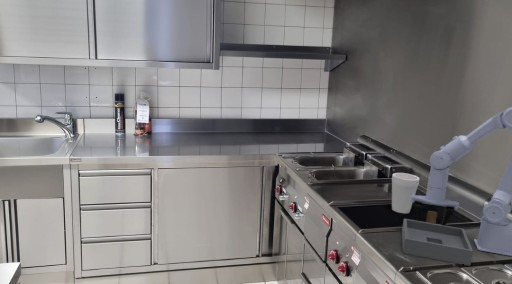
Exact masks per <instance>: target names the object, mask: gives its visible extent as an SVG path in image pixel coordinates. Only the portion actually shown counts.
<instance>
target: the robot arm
mask: <svg viewBox="0 0 512 284" xmlns="http://www.w3.org/2000/svg"><path fill="white" fill-rule="evenodd" d="M506 128H507V129H508V130H510V131H511V132H512V106H511V107H508V108H506V110H504V111H501V112H499V113H498V114H495V115H493V116H491V117H490V118H488V119H487V120H486V121H485V122H484V123H482V124H481V125H479V126H478V127H477V128H475V129H474V130H473V131H471V132H470V133H468V134H467V135H462V134H461V135H458V136H457V135H455V136H454V137H452V138H451V139H452V140H451V141H450V142H448V143H447V144H446V145H442V146H440V147H439V149H440V150H438V151H434V152H433V153H432V154H431V155H430V157H429V163H430V171H429V175H428V181H427V188H426V193H425V195H419V194H418V195H416V194H415V195H411V202H413V205H414V208H415V212H416V221H421V215H422V209H423V204H427V205H432V206H439V207H443V208H444V209H443V216H442V220H441V224H440V225H444V226H447V223H448V221H449V219H450V218H451V217H452V215H453V214H455V210H459V205H460V203H459V202H458V201H453V200H451V199H445V197H446V191H447V187H448V180H449V173H450V166H452V165H453V163H454V162H457V161H458V160H459V159H461V158H463V157H464V156H465V155H467V154H469V153H470V152H472V151H473V148H474V144H475V143H477V142H478V141H480V140H482V139H483V138H485V137H486V136H488V135H489V134H491V133H492V132H494V131H495V130H503V129H506ZM511 212H512V156H511V158H510V160H509V162H508V164H507V166H506V168H505V170H504V173H503V175H502V177H501V179H500V181H499V184H498V186H497V188H496V190H495V191H494V194H493V195H492V197H491V199H490V200H489V202H488V203H486V204H485V205H484V206H483V208H482V216H481V221H480V226H479V231H478V237H477V239H476V238H473V242H474V244H475V247H476V248H477V250H478V251H482V252H486V253H487V252H488V253H494V254H499V255H505V256H510V257H512V222H510V221H509V219H508V217H507V216H509V214H510V213H511Z"/></svg>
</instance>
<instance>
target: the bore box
mask: <svg viewBox="0 0 512 284" xmlns="http://www.w3.org/2000/svg"><path fill="white" fill-rule="evenodd" d="M401 239H402V240H401V241H402V242H401V243H402V254H407V255H411V256H416V257H421V258H427V259H432V260H437V261H442V262H448V263H452V264H457V263H458V265H462V264H464V266H469V267H470V266H471V263H472V259H473V253H474V250H473V247H472V245H471V243H470V240H469V238H468V236H467V232H466V231H465V229H464V228H463V227H462V228H460V227H457V226H456V227H455V226H449V225H445V226H444V225H441V224H438V223H436V224H433V223H427V222H426V221H421V220H420V221H417V220H416V219H409V218H403V223H402V228H401Z"/></svg>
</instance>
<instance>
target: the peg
mask: <svg viewBox="0 0 512 284" xmlns="http://www.w3.org/2000/svg"><path fill="white" fill-rule="evenodd" d="M437 218H438V212H436V211H434V210H428V211H427V213H426V220H425V222H427V223H433V224H437Z"/></svg>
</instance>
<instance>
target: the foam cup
mask: <svg viewBox="0 0 512 284" xmlns="http://www.w3.org/2000/svg"><path fill="white" fill-rule="evenodd" d="M419 185H420V177H419V176H417V175H414V174H411V173H405V172H395V173H392V175H391V210H392V211H394V212H396V213H399V214H410V212H411V209H412V205H413V204H414V202H411V195H416V193H417V189H418V187H419Z"/></svg>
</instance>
